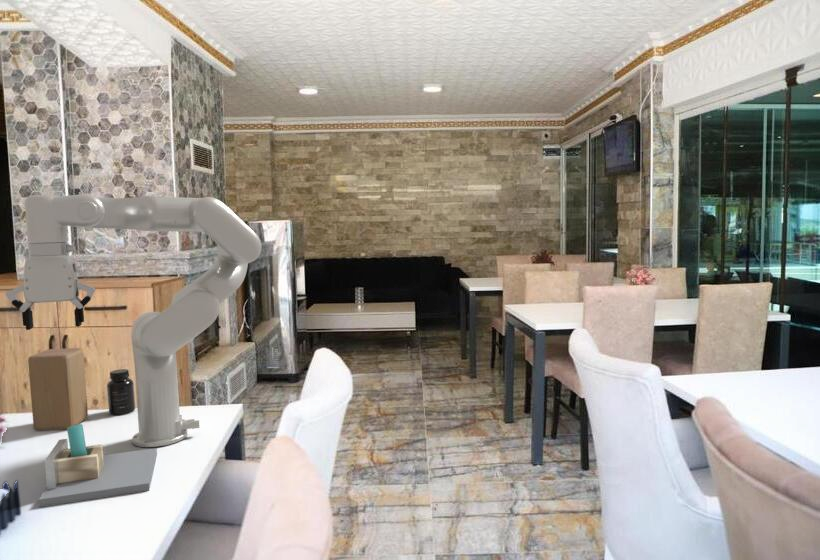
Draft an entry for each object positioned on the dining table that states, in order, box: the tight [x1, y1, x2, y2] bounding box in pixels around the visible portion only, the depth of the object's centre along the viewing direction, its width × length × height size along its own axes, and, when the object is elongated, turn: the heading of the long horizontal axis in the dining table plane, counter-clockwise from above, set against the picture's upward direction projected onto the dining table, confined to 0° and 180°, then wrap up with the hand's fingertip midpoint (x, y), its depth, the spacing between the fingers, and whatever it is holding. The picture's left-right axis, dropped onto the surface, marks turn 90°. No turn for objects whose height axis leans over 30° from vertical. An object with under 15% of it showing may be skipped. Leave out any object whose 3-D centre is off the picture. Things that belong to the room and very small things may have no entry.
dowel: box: [66, 423, 87, 457], centre depth 122 cm, size 3×3×10 cm
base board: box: [38, 447, 158, 508], centre depth 123 cm, size 19×20×2 cm
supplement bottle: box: [106, 368, 136, 416], centre depth 168 cm, size 7×7×12 cm
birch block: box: [57, 444, 104, 483], centre depth 122 cm, size 7×7×4 cm
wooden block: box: [27, 347, 89, 431], centre depth 158 cm, size 10×10×20 cm
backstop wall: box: [44, 438, 69, 490], centre depth 120 cm, size 2×12×6 cm, turn 19°
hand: (54, 327), depth 132 cm, fingers open, 9 cm apart
